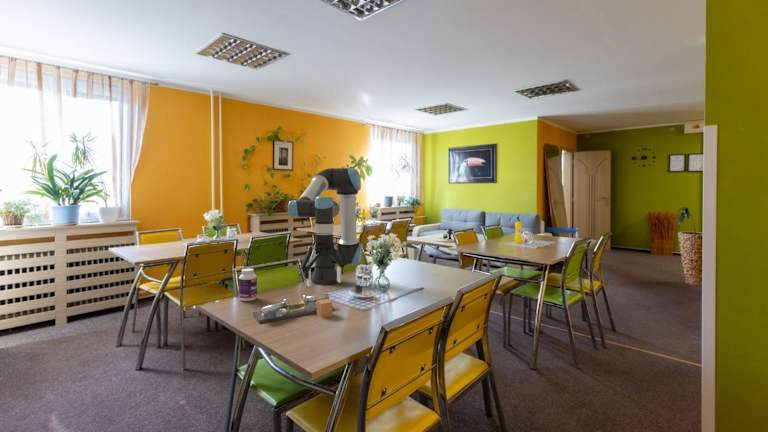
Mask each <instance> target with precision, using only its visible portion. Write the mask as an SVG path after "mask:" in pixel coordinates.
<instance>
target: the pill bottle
mask: <svg viewBox="0 0 768 432" xmlns="http://www.w3.org/2000/svg"><path fill="white" fill-rule="evenodd" d="M238 294H239V295H238V298H239V300H240V301H242V302H252V301H254V300H256V299H257V298H258V276H257V274H255V269H254V268H243V269H241V274H240V275H239V276H238Z"/></svg>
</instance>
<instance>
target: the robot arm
mask: <svg viewBox="0 0 768 432" xmlns="http://www.w3.org/2000/svg"><path fill="white" fill-rule="evenodd" d="M361 183H362V180H361V176H360V172H359V170H358V169H356V168H352V167H351V168H350V167H345V168H344V167H343V168H341V167H339V168H337V167H336V168H333V167H330V168H326V169H322V170H320V171H318V172H317V173H315V174H314V175H313V177H312V178H311V179H310V182H309V185H308V186H307V187H306V189H305V190H304V191H303V192H302V194H301V195H300V197H298V199H294V200H290V201H289V202H288V204H287V213H288V215H289V216H290V217H291V218H314V233H315V235H314V246H310V245H307V251H306V253H305V254H304V257H303V259H302V261H301V264H300V267H299V269H300V270H302V271H304V278H305V279H306V286H307V287H309V288H310V287H311V288H312V283H313V284H314V285H322V286H323V285H334V284H337V283H340V284H341V283H342V275H343V274H344V267H345V266H348V265H358V264H360V262H361V259H362V253H363V244H362V243H360V239H358V238H357V216H356V215H357V214H356V211H357V210H356V209H357V207H356V205H357V204H356V203H357V201H356V196H357V195H358V194H359V191H361V188H362V184H361ZM326 191H336V195H337V196H338V197H339V203H338V202H337V201H335V200H334V197H332V196H322V194H323V193H325V192H326ZM338 215H339V217H340V239H339V240H338V242H337V241H336V239H334V234H333V233H334V218H335V217H337V216H338ZM313 252H314V253H313ZM312 253H313V256H312ZM311 256H312V257H311ZM313 265H314V271H313V273H311V270H310V269H311V268H312V266H313ZM336 265H337V266H336ZM312 274H313V275H312Z"/></svg>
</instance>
